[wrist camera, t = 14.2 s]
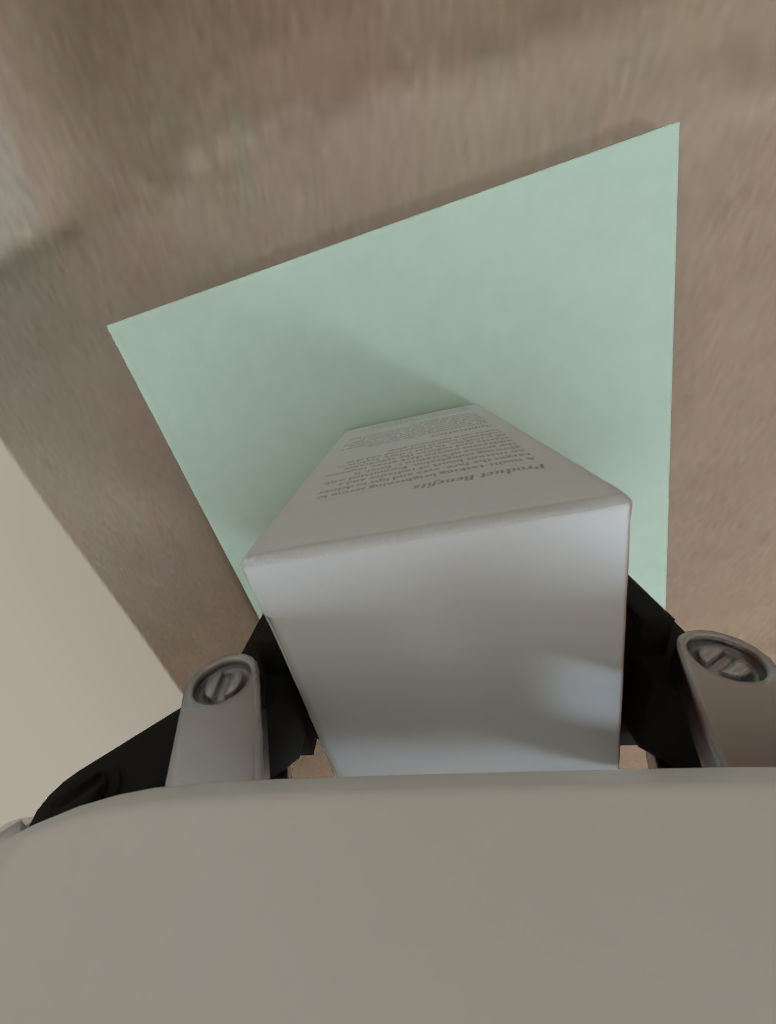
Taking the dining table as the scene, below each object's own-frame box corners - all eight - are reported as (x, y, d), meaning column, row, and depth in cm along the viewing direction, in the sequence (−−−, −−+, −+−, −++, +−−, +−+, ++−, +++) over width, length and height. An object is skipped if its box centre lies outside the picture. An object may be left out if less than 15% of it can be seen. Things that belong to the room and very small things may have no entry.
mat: (301, 687, 22) (299, 695, 21) (116, 326, 14) (105, 325, 13) (657, 623, 19) (665, 631, 18) (666, 131, 11) (680, 119, 11)
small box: (498, 570, 17) (624, 848, 7) (383, 588, 18) (361, 866, 8) (480, 398, 14) (654, 493, 4) (341, 427, 15) (226, 566, 5)
